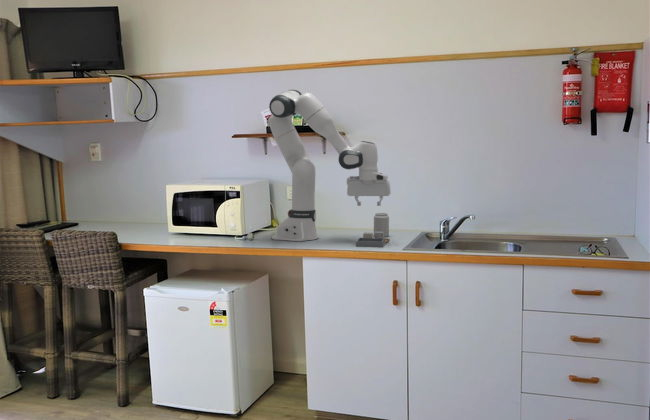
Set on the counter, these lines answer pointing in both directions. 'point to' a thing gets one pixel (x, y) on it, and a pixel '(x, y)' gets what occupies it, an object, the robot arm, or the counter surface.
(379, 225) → the can
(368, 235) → the stone
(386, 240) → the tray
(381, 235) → the stone
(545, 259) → the counter surface
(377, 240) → the bin
